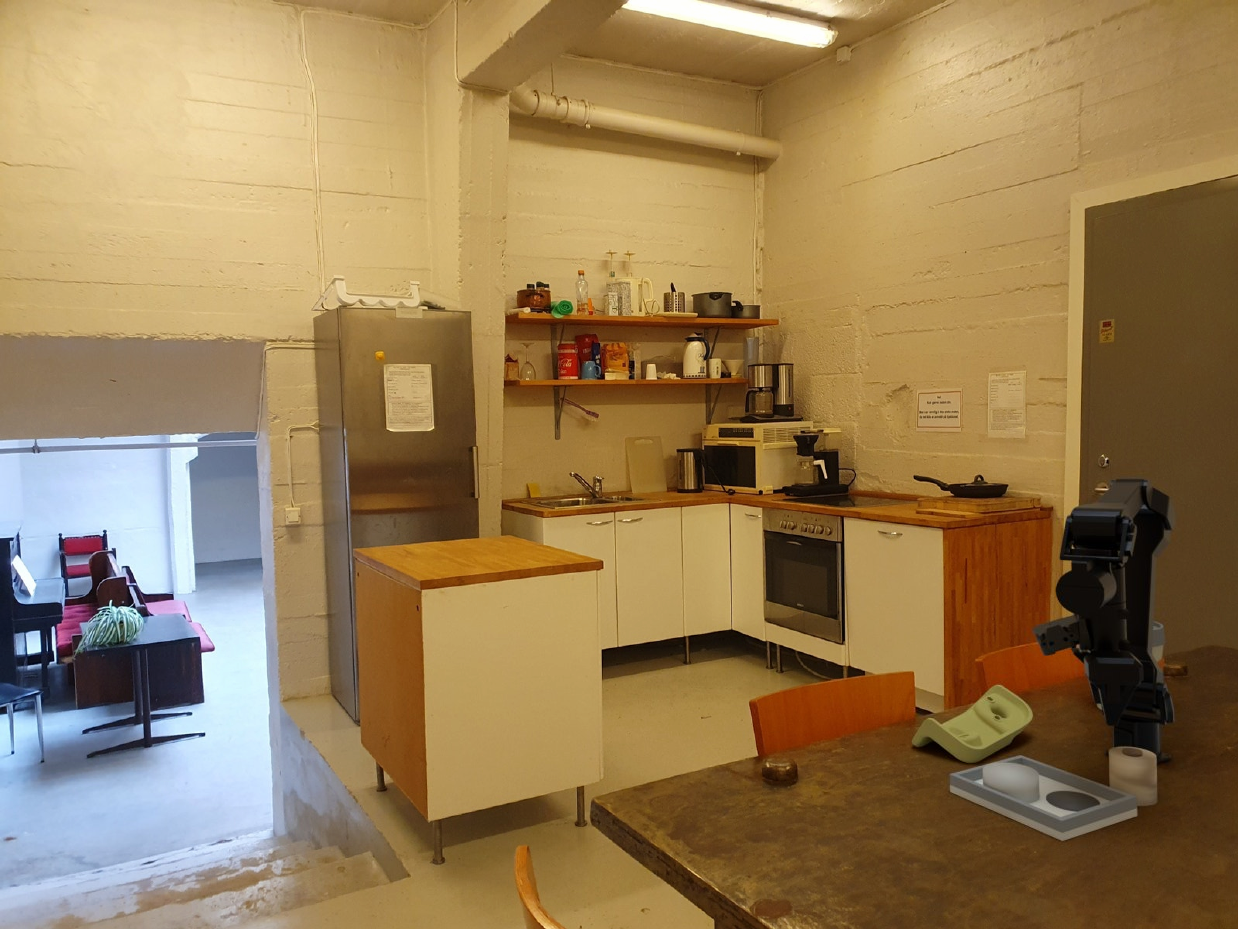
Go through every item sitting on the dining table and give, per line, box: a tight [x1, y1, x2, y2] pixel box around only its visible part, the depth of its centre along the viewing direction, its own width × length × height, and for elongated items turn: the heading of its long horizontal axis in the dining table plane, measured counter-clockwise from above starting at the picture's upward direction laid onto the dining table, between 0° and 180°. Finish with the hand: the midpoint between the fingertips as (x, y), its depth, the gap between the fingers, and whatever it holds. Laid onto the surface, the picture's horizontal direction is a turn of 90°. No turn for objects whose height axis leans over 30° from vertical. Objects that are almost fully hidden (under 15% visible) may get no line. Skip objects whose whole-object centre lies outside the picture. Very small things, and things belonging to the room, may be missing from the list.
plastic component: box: [911, 684, 1034, 764], centre depth 147 cm, size 20×7×10 cm
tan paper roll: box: [1108, 746, 1158, 807], centre depth 123 cm, size 6×6×6 cm
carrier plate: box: [949, 754, 1138, 842], centre depth 122 cm, size 14×18×4 cm
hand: (1104, 714), depth 124 cm, fingers open, 9 cm apart
